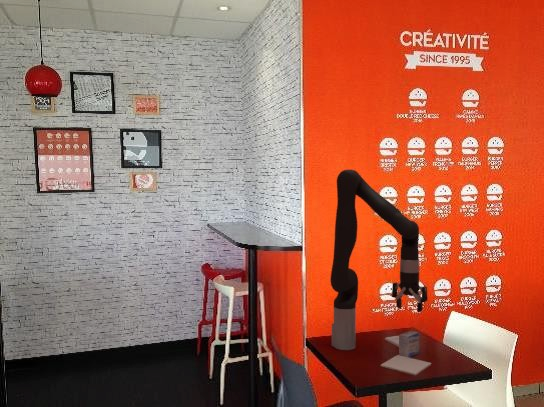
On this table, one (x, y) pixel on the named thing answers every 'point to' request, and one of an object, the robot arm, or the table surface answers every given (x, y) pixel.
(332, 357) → the table surface
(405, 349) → the medicine box
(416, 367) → the mat
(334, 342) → the robot arm
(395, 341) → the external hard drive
